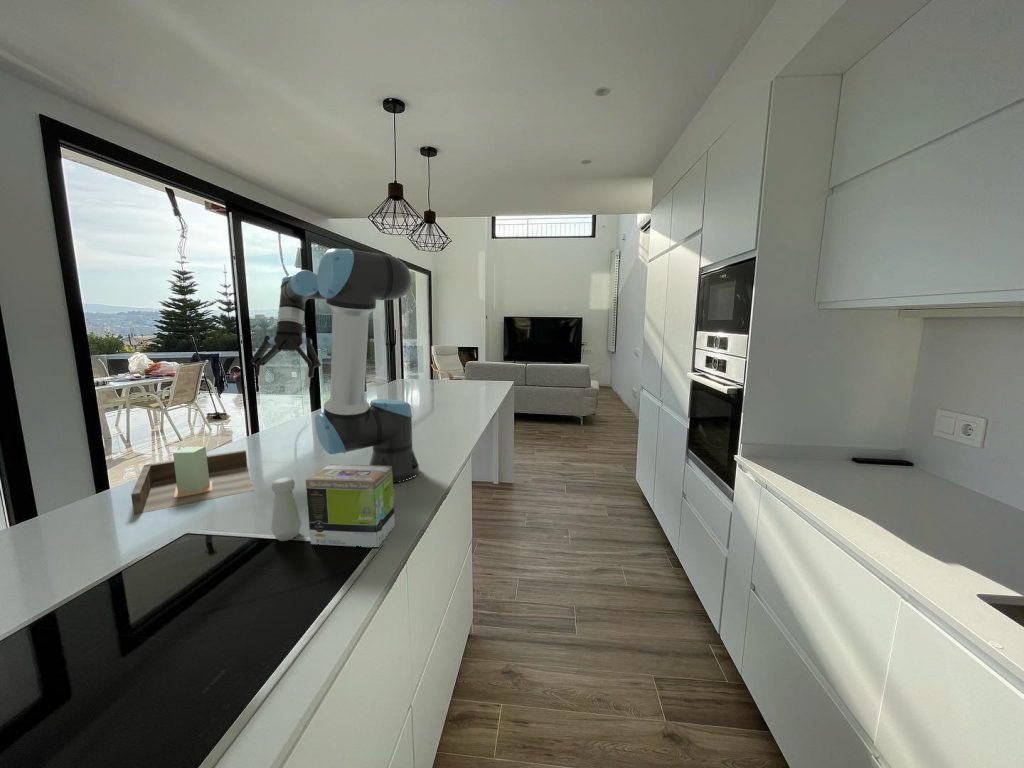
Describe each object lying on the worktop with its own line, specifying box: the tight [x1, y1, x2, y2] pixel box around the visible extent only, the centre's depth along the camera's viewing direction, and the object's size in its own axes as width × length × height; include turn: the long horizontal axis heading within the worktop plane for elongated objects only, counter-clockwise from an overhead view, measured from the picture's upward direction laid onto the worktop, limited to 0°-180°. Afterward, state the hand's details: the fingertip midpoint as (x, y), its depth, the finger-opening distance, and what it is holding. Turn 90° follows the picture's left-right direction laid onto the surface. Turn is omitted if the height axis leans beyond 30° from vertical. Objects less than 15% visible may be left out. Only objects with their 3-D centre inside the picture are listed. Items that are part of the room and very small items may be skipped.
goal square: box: [174, 481, 212, 498], centre depth 111 cm, size 8×8×1 cm
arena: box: [130, 449, 255, 515], centre depth 113 cm, size 24×24×6 cm
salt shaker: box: [270, 477, 302, 542], centre depth 88 cm, size 6×6×13 cm
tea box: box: [305, 463, 396, 548], centre depth 89 cm, size 15×10×15 cm
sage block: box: [172, 446, 210, 493], centre depth 110 cm, size 5×5×11 cm
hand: (284, 386), depth 130 cm, fingers open, 13 cm apart
